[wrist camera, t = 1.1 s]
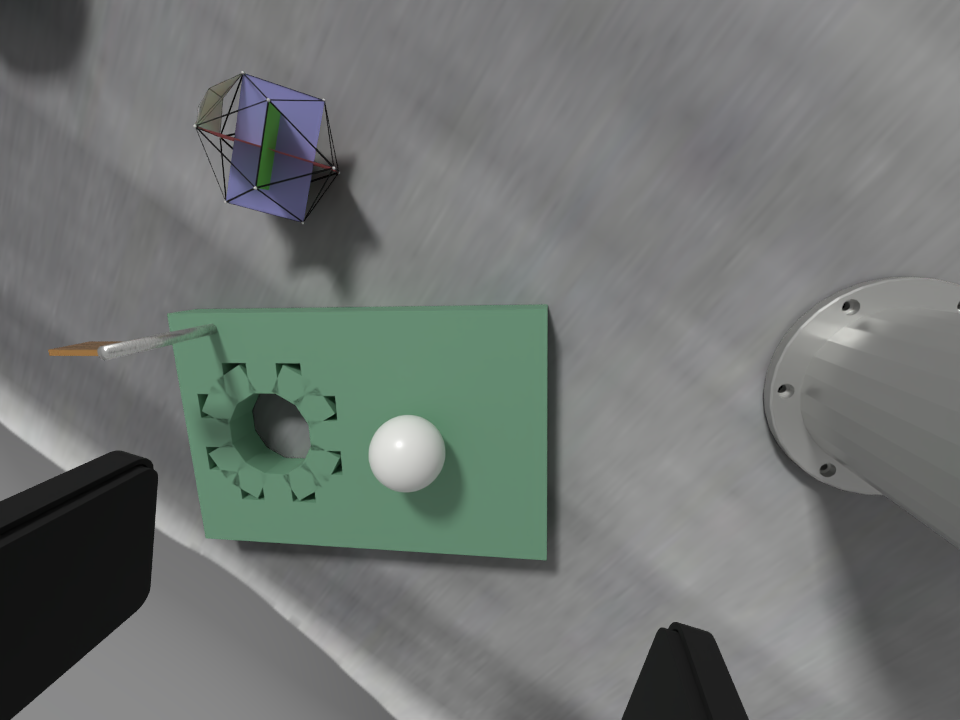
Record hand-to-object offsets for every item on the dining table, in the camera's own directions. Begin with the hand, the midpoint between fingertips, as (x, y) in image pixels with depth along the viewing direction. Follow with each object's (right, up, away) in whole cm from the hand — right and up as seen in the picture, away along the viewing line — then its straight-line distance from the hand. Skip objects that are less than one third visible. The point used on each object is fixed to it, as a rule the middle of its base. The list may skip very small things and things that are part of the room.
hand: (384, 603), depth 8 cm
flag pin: (-16, +7, +24) cm, 30 cm away
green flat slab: (-6, 0, +24) cm, 25 cm away
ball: (-3, -1, +19) cm, 19 cm away
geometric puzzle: (-9, +17, +21) cm, 28 cm away
